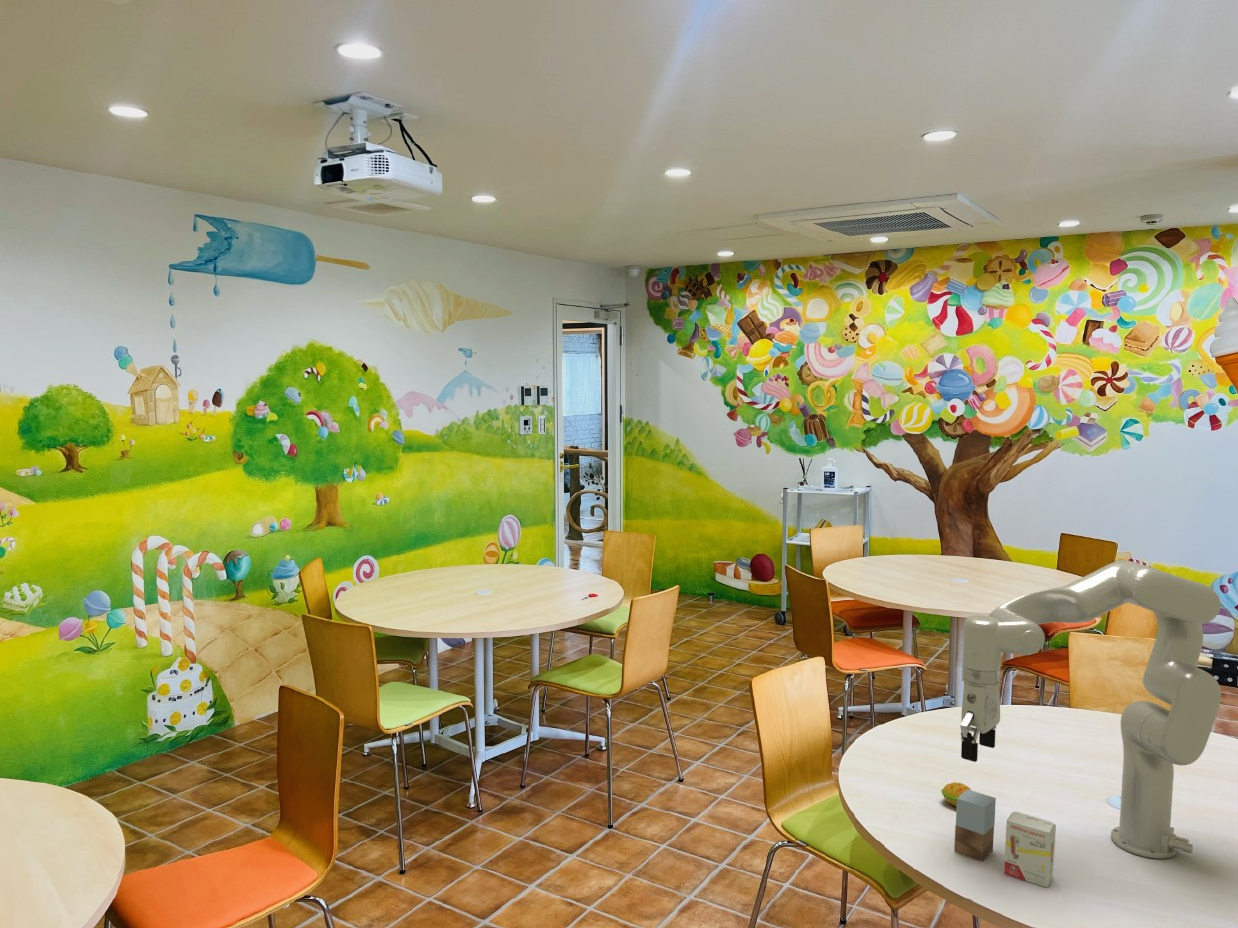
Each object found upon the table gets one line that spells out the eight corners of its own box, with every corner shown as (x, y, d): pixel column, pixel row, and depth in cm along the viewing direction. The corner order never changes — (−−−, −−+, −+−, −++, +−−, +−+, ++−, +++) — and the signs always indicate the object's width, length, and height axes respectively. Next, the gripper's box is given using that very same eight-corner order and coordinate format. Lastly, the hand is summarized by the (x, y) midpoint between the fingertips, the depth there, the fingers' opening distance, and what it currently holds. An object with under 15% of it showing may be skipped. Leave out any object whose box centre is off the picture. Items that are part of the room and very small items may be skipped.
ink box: (1002, 873, 184) (1005, 818, 183) (1009, 864, 187) (1011, 809, 186) (1047, 888, 178) (1050, 831, 177) (1053, 878, 182) (1056, 822, 181)
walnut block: (992, 851, 193) (994, 824, 192) (982, 861, 188) (983, 834, 188) (965, 841, 197) (966, 815, 196) (954, 851, 192) (955, 825, 192)
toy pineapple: (947, 795, 219) (948, 774, 219) (989, 808, 212) (990, 786, 212) (936, 804, 214) (937, 783, 213) (978, 818, 207) (979, 796, 207)
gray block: (994, 824, 192) (995, 797, 192) (984, 834, 188) (985, 807, 187) (966, 815, 196) (967, 789, 196) (955, 825, 192) (956, 798, 191)
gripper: (983, 688, 180) (980, 770, 182) (1013, 669, 193) (1010, 745, 194) (946, 680, 185) (944, 760, 187) (979, 661, 198) (976, 736, 199)
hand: (978, 752), depth 191 cm, fingers open, 9 cm apart
